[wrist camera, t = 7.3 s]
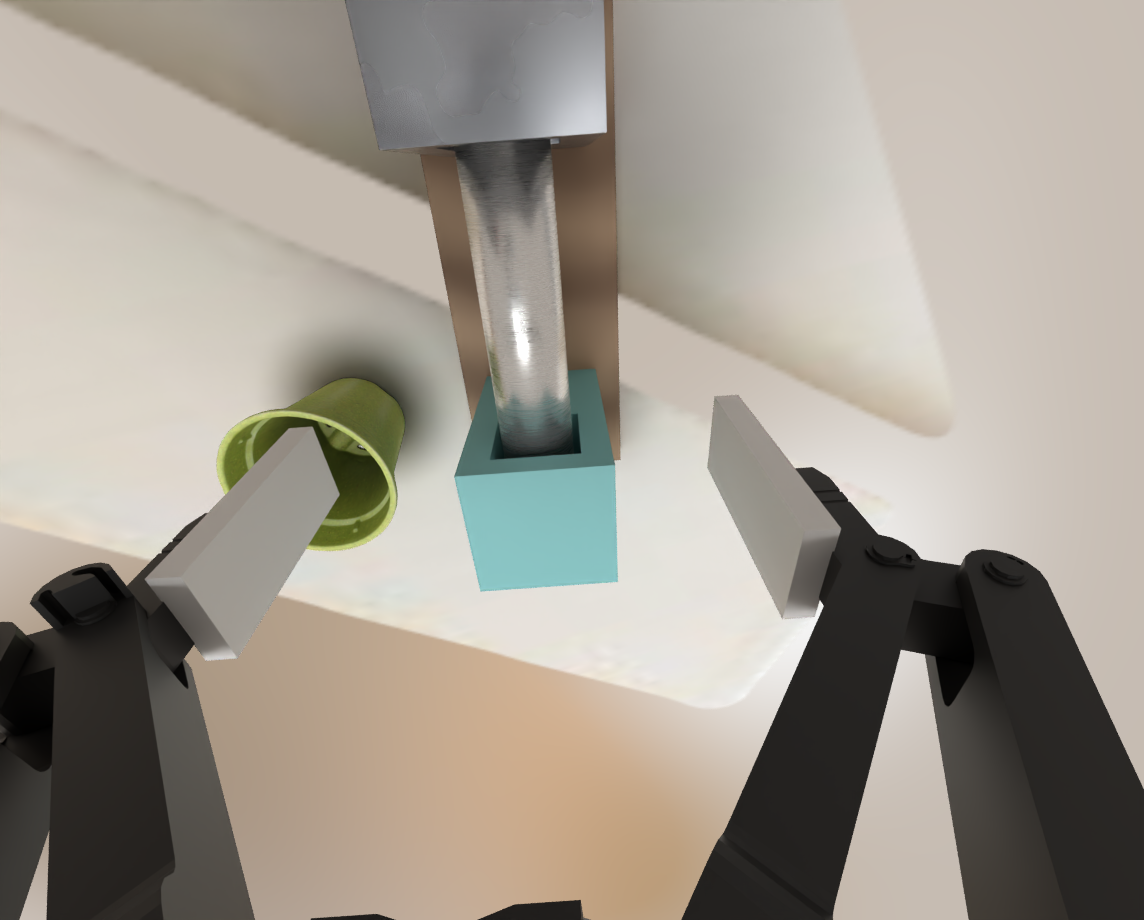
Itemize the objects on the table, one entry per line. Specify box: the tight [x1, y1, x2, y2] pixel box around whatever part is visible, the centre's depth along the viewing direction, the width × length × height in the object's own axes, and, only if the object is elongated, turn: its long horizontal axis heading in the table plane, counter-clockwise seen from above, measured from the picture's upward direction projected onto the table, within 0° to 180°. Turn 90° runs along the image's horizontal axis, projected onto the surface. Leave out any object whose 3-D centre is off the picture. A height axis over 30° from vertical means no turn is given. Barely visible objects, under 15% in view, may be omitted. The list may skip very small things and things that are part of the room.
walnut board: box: [420, 0, 620, 460], centre depth 29 cm, size 26×10×2 cm, turn 4°
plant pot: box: [217, 378, 405, 551], centre depth 30 cm, size 9×9×9 cm
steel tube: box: [454, 139, 574, 459], centre depth 21 cm, size 17×4×4 cm, turn 4°
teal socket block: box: [454, 369, 618, 591], centre depth 28 cm, size 7×7×12 cm
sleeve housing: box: [345, 0, 607, 157], centre depth 18 cm, size 7×7×12 cm
